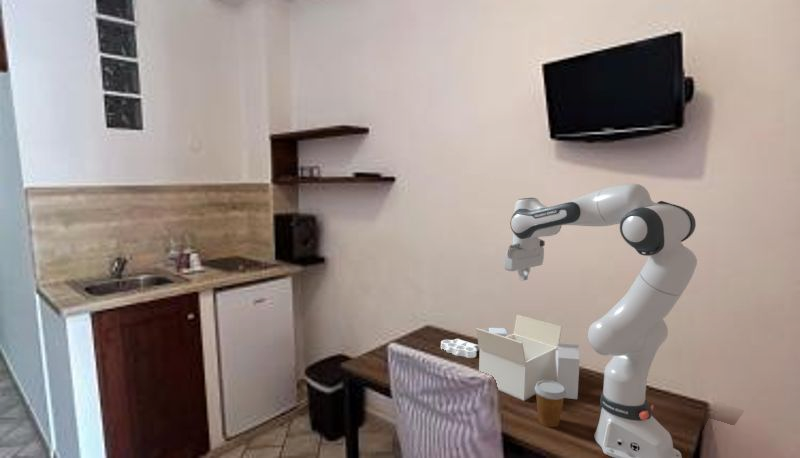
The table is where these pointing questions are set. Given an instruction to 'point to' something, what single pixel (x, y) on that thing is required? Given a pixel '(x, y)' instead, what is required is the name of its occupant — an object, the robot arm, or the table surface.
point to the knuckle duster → (460, 348)
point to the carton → (520, 367)
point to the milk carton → (567, 368)
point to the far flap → (537, 330)
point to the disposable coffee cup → (549, 402)
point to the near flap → (501, 345)
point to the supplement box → (498, 331)
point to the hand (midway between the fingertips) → (523, 280)
